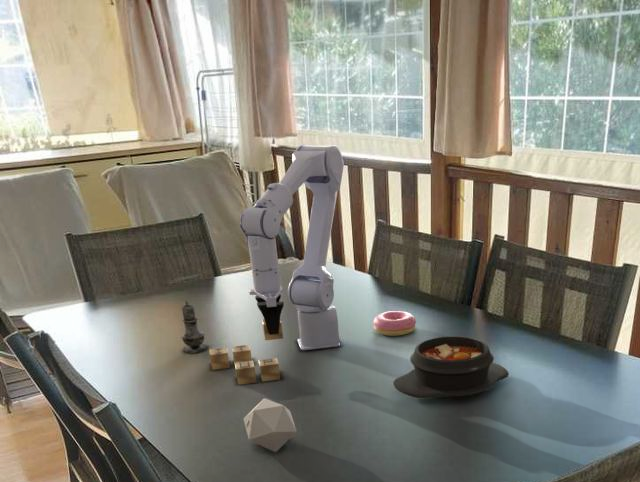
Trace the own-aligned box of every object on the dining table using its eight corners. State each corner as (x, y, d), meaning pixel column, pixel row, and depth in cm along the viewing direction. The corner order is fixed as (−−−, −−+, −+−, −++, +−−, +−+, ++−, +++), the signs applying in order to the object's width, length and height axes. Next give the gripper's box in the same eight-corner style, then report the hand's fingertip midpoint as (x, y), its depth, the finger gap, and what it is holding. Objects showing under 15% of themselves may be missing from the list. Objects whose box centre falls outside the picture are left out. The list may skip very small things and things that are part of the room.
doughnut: (366, 335, 174) (365, 319, 171) (382, 322, 182) (382, 306, 180) (407, 339, 170) (407, 323, 168) (421, 325, 178) (421, 309, 176)
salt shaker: (201, 353, 168) (192, 304, 161) (179, 352, 169) (169, 304, 162) (211, 345, 173) (202, 297, 166) (189, 344, 174) (180, 297, 167)
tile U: (255, 375, 154) (252, 360, 152) (256, 382, 150) (254, 366, 149) (237, 378, 153) (234, 362, 151) (238, 384, 150) (235, 368, 148)
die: (261, 434, 130) (228, 406, 122) (300, 410, 128) (269, 380, 120) (270, 468, 125) (237, 441, 117) (310, 443, 123) (280, 414, 115)
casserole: (422, 416, 132) (422, 375, 128) (377, 384, 146) (376, 346, 142) (527, 388, 142) (530, 348, 137) (475, 361, 156) (476, 324, 151)
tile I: (229, 361, 162) (226, 346, 160) (230, 367, 159) (227, 352, 157) (211, 364, 161) (209, 349, 159) (212, 370, 158) (209, 354, 156)
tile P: (278, 372, 155) (276, 357, 153) (280, 379, 151) (278, 363, 149) (260, 375, 154) (258, 359, 152) (262, 381, 151) (260, 365, 149)
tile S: (281, 333, 156) (279, 317, 154) (283, 338, 153) (281, 322, 151) (263, 335, 156) (261, 319, 154) (265, 340, 152) (263, 324, 150)
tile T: (251, 359, 163) (249, 344, 161) (252, 365, 160) (250, 349, 158) (234, 361, 162) (231, 346, 160) (235, 367, 159) (232, 352, 157)
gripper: (244, 262, 152) (252, 322, 159) (248, 278, 140) (257, 342, 147) (276, 259, 153) (283, 319, 160) (283, 274, 141) (290, 339, 148)
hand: (272, 330), depth 154 cm, fingers closed on tile S, 4 cm apart
